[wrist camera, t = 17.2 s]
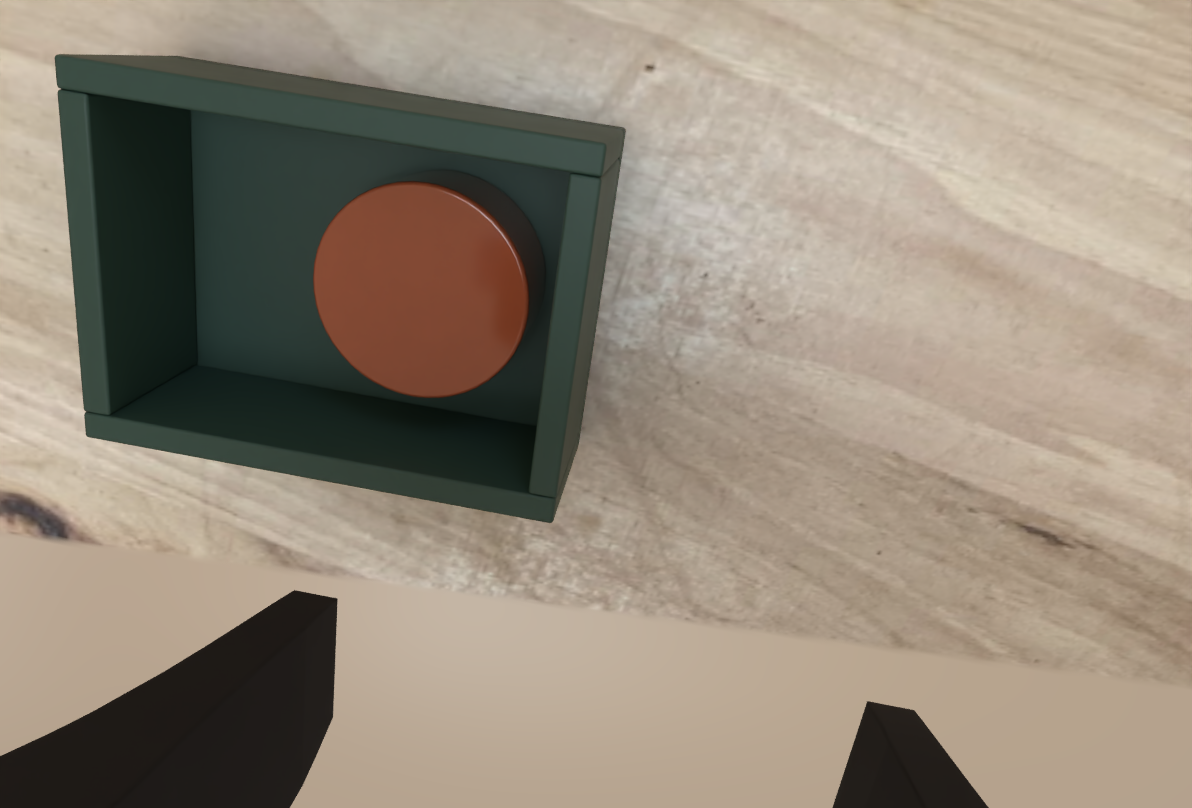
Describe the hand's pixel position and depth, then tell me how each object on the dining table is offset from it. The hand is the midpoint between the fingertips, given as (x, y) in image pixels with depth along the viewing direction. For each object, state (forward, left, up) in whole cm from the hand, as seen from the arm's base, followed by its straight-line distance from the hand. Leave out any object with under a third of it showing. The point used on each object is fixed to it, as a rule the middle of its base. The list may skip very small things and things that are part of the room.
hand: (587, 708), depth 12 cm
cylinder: (+3, +5, -10) cm, 11 cm away
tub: (+3, +7, -10) cm, 13 cm away
